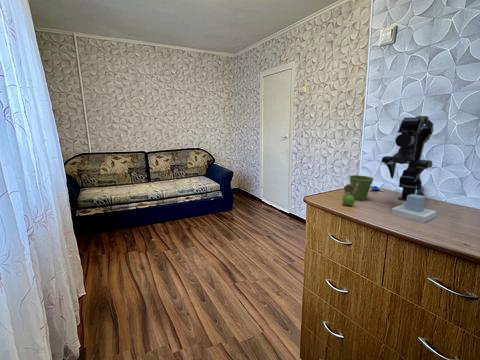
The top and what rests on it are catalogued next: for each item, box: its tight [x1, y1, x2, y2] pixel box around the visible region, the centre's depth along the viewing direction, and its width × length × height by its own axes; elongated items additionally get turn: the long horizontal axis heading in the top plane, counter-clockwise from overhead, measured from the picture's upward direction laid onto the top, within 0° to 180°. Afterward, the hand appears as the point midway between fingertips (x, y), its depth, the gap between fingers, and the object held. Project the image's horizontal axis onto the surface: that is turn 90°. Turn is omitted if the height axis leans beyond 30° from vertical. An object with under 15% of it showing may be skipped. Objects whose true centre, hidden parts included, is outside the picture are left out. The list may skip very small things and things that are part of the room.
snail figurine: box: [342, 181, 359, 206], centre depth 116 cm, size 5×6×12 cm
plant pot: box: [348, 174, 375, 201], centre depth 127 cm, size 12×12×11 cm
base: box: [391, 203, 437, 224], centre depth 104 cm, size 12×12×3 cm
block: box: [405, 193, 427, 212], centre depth 103 cm, size 5×5×6 cm
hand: (402, 180), depth 113 cm, fingers open, 9 cm apart
